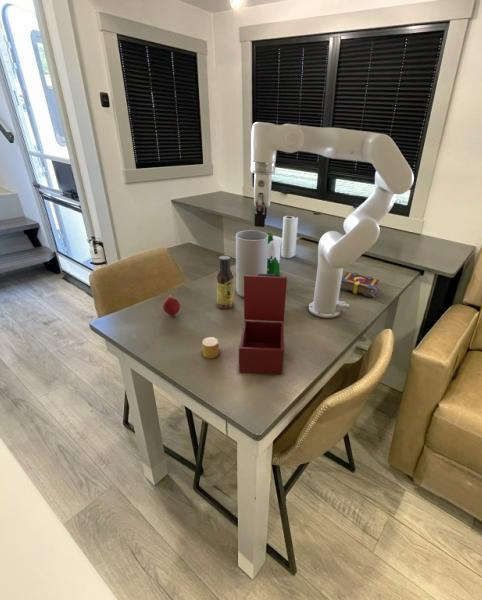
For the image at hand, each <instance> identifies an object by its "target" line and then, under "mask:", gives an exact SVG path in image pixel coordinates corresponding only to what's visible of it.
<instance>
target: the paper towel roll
mask: <svg viewBox="0 0 482 600" xmlns="http://www.w3.org/2000/svg"><path fill="white" fill-rule="evenodd" d="M282 219H283V221H282V237H281V238H282V242H281V251H280V257H282V258H284V259H291V258H293V257H295V256H296V252H297V251H296V250H297V237H298V226H299V225H298V224H299V216H296V217H295V216H291V215H285V216H283V218H282Z"/></svg>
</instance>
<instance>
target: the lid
mask: <svg viewBox="0 0 482 600" xmlns="http://www.w3.org/2000/svg"><path fill="white" fill-rule="evenodd" d="M287 283H288V277H287V276H275V277H274V274H258V276H255V275H244V297H243V321H244V320H248V321H269V322H285V313H286V311H285V310H286V300H287V299H286V297H287Z"/></svg>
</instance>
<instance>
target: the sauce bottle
mask: <svg viewBox="0 0 482 600" xmlns="http://www.w3.org/2000/svg"><path fill="white" fill-rule="evenodd" d="M218 261H219V270H218V271H217V273H216V301H217V306H218V307H219V308H220V309H230V308H232V307H233V306H234V299H235V298H234V297H235V296H234V295H235V294H234V290H235V289H234V276H233V272H232V270H231V257H230V256H228V255H220V256H219V258H218Z"/></svg>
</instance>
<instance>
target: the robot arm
mask: <svg viewBox="0 0 482 600" xmlns="http://www.w3.org/2000/svg"><path fill="white" fill-rule="evenodd" d="M250 149H251V151H250V173H252V174H254V175H253V176H254V177H253V205H254V206H255V213H254V227H257V228H258V227H259V228H265V224H266V219H267V213H268V211H267V210H268V208H270V206H271V199H272V198H271V197H272V175H275V174H276V162H277V161H276V160H277V151H280V152H283V153H287V154H288V153H289V154H293V153H297V152H304V153H311V154H316V155H318V156H319V155H320V156H322V157H325V158H329V159H335V160H345V161H355V162H363V163H369V164H372V166H373V167H374V170H375V173H374V186H373V190H372V192H371V194H370V195H369V196H368V197H367V198H366V199H365V201H364V202H362V203H361V204H360V205H359V206H358V207H356V209H354V210H353V211H352V212H351V213H350V214H349V215H348V216H346V218H345V219H344V221H343V224H342V226H343V230H344V232H345V234H344V235H343V234H342V233H340V232H339V231H336V230H329V231H326V232H324V233H323V235H321V237H320V239H319V241H318V247H317V248H318V249H317V266H316V267H317V268H316V275H315V276H316V277H315V285H314V294H313V301H311V302H310V303H309V304H308V311H309V312H310V313H311V314H312V315H314V316H315V317H318V318H323V319H332V318H336V317H338V316H339V315H340V314H341V310H342V309H345V310H346V309H347V310H350V308H351V307H350V306H351V305H350V303H346V301H343V300H342V301H340V299H339V297H340V291H341V289H340V286H341V280H342V277H343V273H344V268H346V267H348V266H350V265H351V264H353V263H354V262H355V261H357V259H359V258H360V257H361V256H362V255H364V254H365V253H366V252H367V251H368V250H369V249H370V248H371V247H373V246H374V245H375V244H376V242H377V240H378V239H379V237H380V232H381V230H380V225H379V222H380V221H382V220H383V219H384V217H386V216H387V214H388V213H389V212H390V211H391V210H392V209H393V206H394V204H395V202H396V199H397V198H396V197H397V195H402V194H403V195H404V194H405V193H407V192H409V190H410V189H411V188H412V186H413V185H414V179H415V177H414V176H415V175H414V173H413V169H412V168H411V166H410V164H409V163H408V161H407V160H406V158H405V156H404V155H403V154H402V152H401V151H400V149H399V147H398V145H397V144H396V142H395V141H394V140H393V138H392V137H390V136H389V135H388V134H386V133H379V132H372V131H364V130H357V129H348V128H342V127H322V126H321V127H319V126H309V125H302V124H294V123H293V124H292V123H284V124H275V123H271V122H264V121H256V122H254V123H253V124H252V126H251V146H250Z"/></svg>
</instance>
